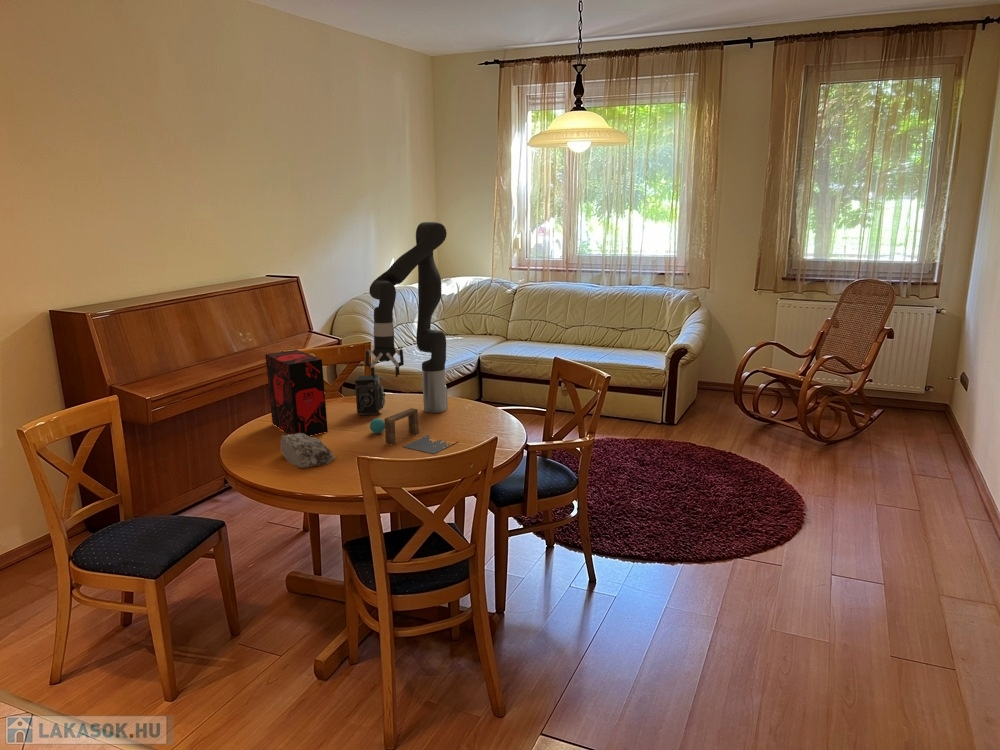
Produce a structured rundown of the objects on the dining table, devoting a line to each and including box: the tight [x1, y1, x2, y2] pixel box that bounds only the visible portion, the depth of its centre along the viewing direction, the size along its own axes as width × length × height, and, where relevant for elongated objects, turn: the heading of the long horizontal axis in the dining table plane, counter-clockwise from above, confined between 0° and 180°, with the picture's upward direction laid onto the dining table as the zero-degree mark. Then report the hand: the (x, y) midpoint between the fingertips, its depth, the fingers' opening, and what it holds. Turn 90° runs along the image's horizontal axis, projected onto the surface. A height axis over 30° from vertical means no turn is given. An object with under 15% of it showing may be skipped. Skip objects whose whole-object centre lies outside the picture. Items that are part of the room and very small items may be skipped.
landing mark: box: [402, 434, 451, 455], centre depth 244 cm, size 14×14×1 cm
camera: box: [354, 374, 386, 416], centre depth 281 cm, size 10×11×15 cm
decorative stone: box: [280, 433, 335, 469], centre depth 231 cm, size 20×14×10 cm
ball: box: [369, 417, 385, 434], centre depth 257 cm, size 6×6×6 cm
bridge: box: [383, 407, 420, 446], centre depth 250 cm, size 3×15×9 cm, turn 147°
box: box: [264, 349, 329, 437], centre depth 261 cm, size 23×12×28 cm, turn 38°
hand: (385, 376), depth 264 cm, fingers open, 8 cm apart
